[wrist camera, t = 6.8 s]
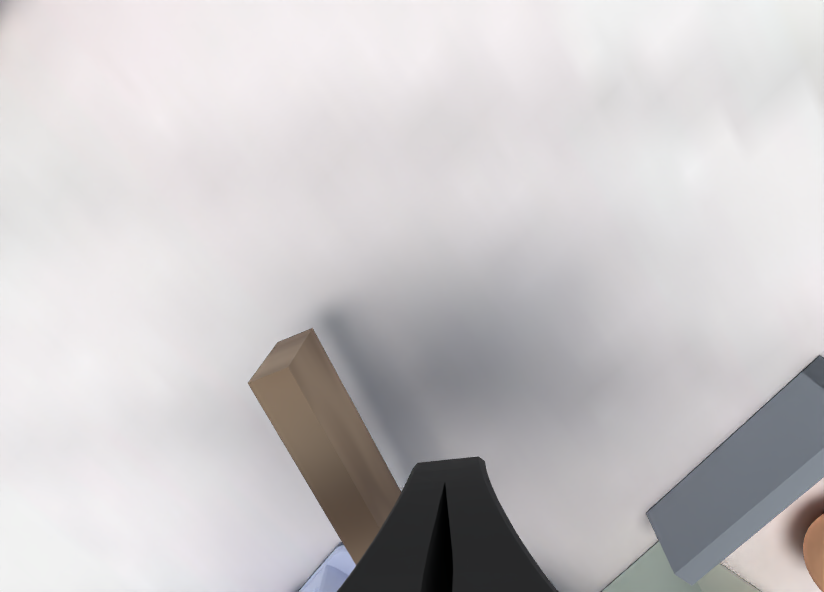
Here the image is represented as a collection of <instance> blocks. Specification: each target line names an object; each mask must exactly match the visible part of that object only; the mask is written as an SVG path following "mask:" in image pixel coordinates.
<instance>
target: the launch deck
mask: <svg viewBox="0 0 824 592" xmlns="http://www.w3.org/2000/svg"><path fill="white" fill-rule="evenodd" d="M602 592H761V591H760V590H758V589H757V588H755V587H754V586H752V585H751V584H749V583H748V582H746V581H745V580H743V579H742V578H740V577H739V576H738V575H736V574H735V573H733V572H732V571H730V570H729V569H727V568H726V567H724V566H723V565H721V564H720V563H719V564H718V565H717V566H715V567H714V568H713V569H712V570H711V571H709V572H708V573H707V574H706V575H704V576H703V577H702V578H701V579H700V580H698V581H697V582H696V583H695V584H694V585H692V586H691V585H690V584H688V583H687V582H685V581H684V580H682V579H681V578H679V577H678V576H676V575H675V574H674V572H673V570H672V568H671V566H670V564H669V562H668V559H667V557H666V555H665V553H664V551H663V549H662V546H661V544H660V542H657V543H656V544H655V545H654V546H653V547H652V548H651V549H649V550H648V551H647V552H646V553H645V554H644V555H643V556H642V557H640V558H639V559H638V560H637V561H636V562H635V563H634V564H632V565H631V566H630V567H629V568H628V569H627V570H626V571H624V572H623V573H622V574H621V575H620V576H619V577H618V578H617V579H615V580H614V581H613V582H612V583H611V584H610V585H609V586H607V587H606V588H605V589H604V590H603V591H602Z"/></svg>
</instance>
